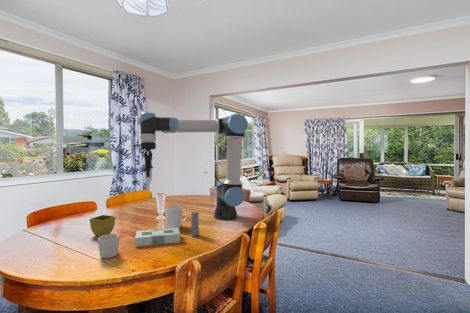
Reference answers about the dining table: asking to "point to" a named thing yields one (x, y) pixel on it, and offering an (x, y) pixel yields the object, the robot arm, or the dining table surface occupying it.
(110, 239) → the cup
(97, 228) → the flower pot
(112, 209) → the dining table surface
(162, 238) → the hole block
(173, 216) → the mug
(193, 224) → the peg
